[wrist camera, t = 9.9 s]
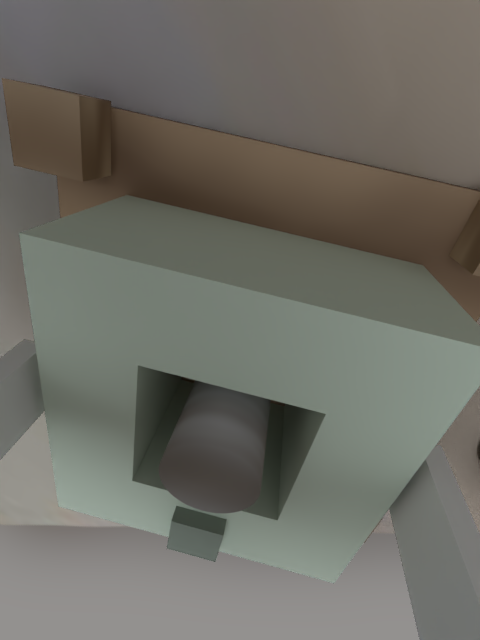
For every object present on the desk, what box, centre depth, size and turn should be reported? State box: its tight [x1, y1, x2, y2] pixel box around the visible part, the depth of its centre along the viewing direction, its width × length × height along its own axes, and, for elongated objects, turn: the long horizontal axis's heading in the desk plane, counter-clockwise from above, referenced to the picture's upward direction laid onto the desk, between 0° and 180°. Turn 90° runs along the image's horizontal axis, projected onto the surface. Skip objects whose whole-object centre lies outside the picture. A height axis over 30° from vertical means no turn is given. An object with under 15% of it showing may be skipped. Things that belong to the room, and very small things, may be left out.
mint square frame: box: [19, 195, 480, 583], centre depth 13 cm, size 12×12×7 cm
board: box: [2, 78, 480, 543], centre depth 14 cm, size 18×18×8 cm
